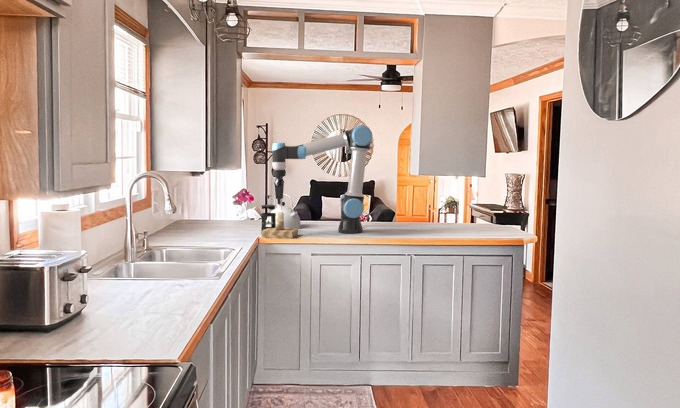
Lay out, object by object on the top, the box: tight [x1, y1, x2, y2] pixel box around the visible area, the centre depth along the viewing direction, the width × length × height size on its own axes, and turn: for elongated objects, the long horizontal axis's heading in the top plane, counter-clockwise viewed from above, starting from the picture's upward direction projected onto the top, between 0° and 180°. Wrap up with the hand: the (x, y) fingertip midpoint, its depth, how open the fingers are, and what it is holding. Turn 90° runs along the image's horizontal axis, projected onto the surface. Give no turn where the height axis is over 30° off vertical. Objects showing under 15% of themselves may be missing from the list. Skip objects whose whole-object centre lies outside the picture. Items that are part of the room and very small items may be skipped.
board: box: [261, 228, 299, 240], centre depth 327 cm, size 18×14×4 cm
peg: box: [276, 212, 284, 231], centre depth 327 cm, size 5×5×14 cm
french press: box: [260, 194, 277, 235], centre depth 339 cm, size 12×9×23 cm
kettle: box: [266, 193, 302, 230], centre depth 363 cm, size 25×23×22 cm
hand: (279, 209), depth 326 cm, fingers closed
